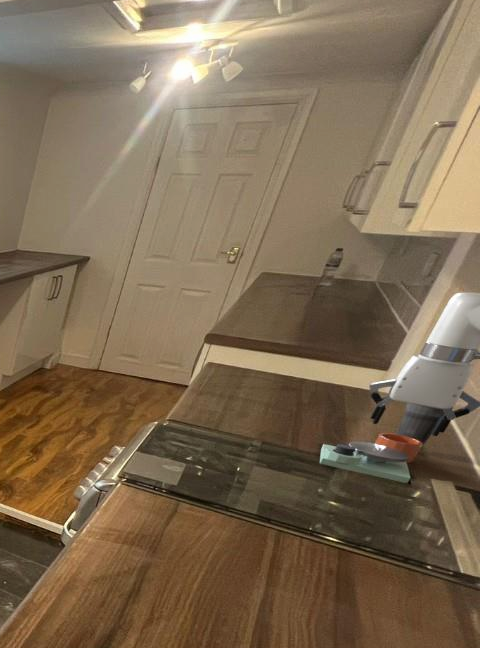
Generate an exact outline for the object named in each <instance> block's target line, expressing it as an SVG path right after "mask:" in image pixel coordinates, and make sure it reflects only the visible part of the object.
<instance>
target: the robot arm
mask: <svg viewBox="0 0 480 648" xmlns="http://www.w3.org/2000/svg"><path fill="white" fill-rule="evenodd" d="M479 348H480V292H467V291H466V292H465V291H464V292H459V293H456V294H454V295H453V296H451V297H450V299H449V300H448V301H447V304H446V306H445V307H444V309H443V311H442V313H441V315H440V316H439V318H438V320H437V321H436V324H435V325H434V327H433V329H432V331H431V332H430V334H429V336H428V338H427V340H426V342H425V343H424V345H423V347H422V349H421V351H419V354H413V355H412V356H410V358H409V359H408V361H407V362H406V364H405V365H404V366H403V367H402V369H401V371H400V372H399V374H398V375H397V377H396V378H395V379H390V380H389V379H388V380H384V381H377V382H372V383H369V393H370V397H371V399H372V400H373V401H374V403H375V404H376V406H375V407H374V410H373V411H372V413H371V415H370V417H369V418H370V419H371V420H372V424H373V425H377V424H379V422H380V420H381V418H382V417H383V415H384V413H385V412H386V409H387V407H386V406H387V405H389V404H393V403H394V402H400V403H405V404H407V403H409V404H414V405H420V406H426V407H431V408H437V409H442V410H443V412H444V413H445V414H444V415H443V416H441V417H440V418H439V420H438V421H437V423H436V425H435V426H434V428H433V430H432V434H431V436H433V437H438V436H439V434H440V433H442V434H444V432H445V431H446V429H447V428H448V426H449V425H450V423H451V422H452V421H454V420H455V419H457V418H460V417H464V416H467V415H469V414H470V413H471V412H473V411H475V410H477V409H478V408H480V400H478V399H477V398H475V397H474V396H472V395H470V394H469V393H467V392H466V391H464V389H465V387H466V385H467V383H468V381H469V378H470V376H471V373H472V370H473V366H474V364H473V363H471V362H472V361H474V360H480V351H479ZM384 388H389V391H388V395H385V396H383V397H382V396H381V395H380V394H379V390H380V389H384ZM459 399H461V400H463V401H464V402H465V403H467V404H466V405H465V406H464V407H461V408H458V409H455V410H453V409H451V408H452V407H453V408H454V407H455V405H456V404H457V402H458V401H459Z"/></svg>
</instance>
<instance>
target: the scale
mask: <svg viewBox="0 0 480 648" xmlns="http://www.w3.org/2000/svg"><path fill="white" fill-rule="evenodd" d="M336 447H337V446H334V445H330V444H325V443H323V444H322V446H321V449H320V456H319V464H320V465H324V466H328V467H334V468H338V469H341V470H347V471H351V472H356V473H360V474H364V475H369V476H373V477H377V478H382V479H387V480H392V481H396V482H400V483H404V484H409V482H410V480H411V474H410V470H409V467H408V463H407V462H389V461H386V463H385V464H380V463H373V462H370V461H366V460H364V459H362V455H360V454H357V453H355V452H354V453H353V455H352V456H347V455H342V454H339V453H336V452H334V451H335V449H336Z"/></svg>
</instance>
